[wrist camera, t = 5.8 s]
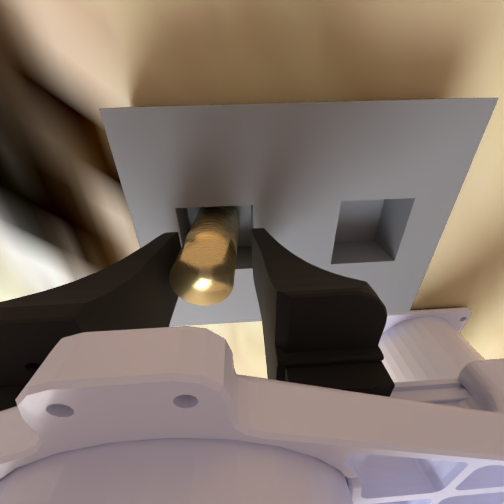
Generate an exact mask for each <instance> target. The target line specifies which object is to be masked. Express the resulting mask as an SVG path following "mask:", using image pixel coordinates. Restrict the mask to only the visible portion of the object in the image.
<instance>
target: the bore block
mask: <svg viewBox="0 0 504 504" xmlns="http://www.w3.org/2000/svg"><path fill="white" fill-rule="evenodd" d="M497 100H498V98H444V99H407V100H370V101H334V102H297V103H260V104H223V105H186V106H149V107H120V108H100V109H99V110H100V113H101V117H102V120H103V124H104V127H105V130H106V134H107V137H108V141H109V144H110V147H111V151H112V154H113V157H114V161H115V164H116V168H117V171H118V174H119V178H120V181H121V185H122V188H123V191H124V195H125V198H126V201H127V205H128V208H129V212H130V215H131V218H132V222H133V225H134V229H135V232H136V235H137V239H138V242H139V245H140V248H142V247H143V246H145V245H146V244H148V243H149V242H151V241H152V240H154V239H155V238H157V237H158V236H160V235H162V234H163V233H166V232H178V233H179V238H180V243H181V247H182V245H183V243H184V241H185V239H186V237H187V235H188V232H189V230H190V228H191V226H192V224H193V222H194V220H195V218H196V215H197V213H198V211H199V209H200V207H216V206H235V208H236V209H237V211H238V213H239V217H240V223H239V234H238V244H237V255H236V265H235V276H234V286H233V290H232V292H231V294H230V295H229V296H228V297H227V298H226V299H225V300H223V301H222V302H220V303H217V304H214V305H208V306H202V305H195V304H192V303H189V302H187V301H185V300H183V299H182V298H180V297H178V300H177V303H176V306H175V309H174V312H173V315H172V318H171V321H170V325H169V326H186V325H202V324H219V323H235V322H252V321H262V318H261V313H260V308H259V303H258V299H257V294H256V289H255V285H254V279H253V267H252V237H251V229H253V228H264V229H265V230H266V231H267V232H268V233H269V234H270V235H271V236H272V237H273V238H274V239H275V240H276V241H277V242H279V243H280V244H281V245H282V246H283V247H285V248H286V249H287V250H289V251H290V252H291V253H293V254H294V255H296V256H297V257H299V258H301V259H303V260H304V261H306V262H308V263H310V264H312V265H314V266H317V267H319V268H321V269H324V270H326V271H329V272H332V273H335V274H338V275H341V276H345V277H349V278H353V279H357V280H362V281H366V282H367V283H368V284H369V285H370V286H371V287H372V289H373V290H374V291H375V292H376V294H377V295H378V297H379V298H380V300H381V301H382V303H383V304H384V305H385V307H386V310H387V313H400V312H410V309H411V307H412V304H413V302H414V300H415V297H416V295H417V292H418V290H419V288H420V285H421V283H422V280H423V278H424V276H425V273H426V271H427V268H428V266H429V264H430V261H431V259H432V256H433V254H434V252H435V249H436V247H437V244H438V242H439V240H440V237H441V235H442V232H443V230H444V228H445V225H446V223H447V220H448V218H449V216H450V213H451V211H452V208H453V206H454V204H455V201H456V199H457V196H458V194H459V192H460V189H461V187H462V184H463V182H464V180H465V177H466V175H467V172H468V170H469V168H470V165H471V163H472V160H473V158H474V156H475V153H476V151H477V148H478V146H479V144H480V141H481V139H482V136H483V134H484V132H485V129H486V127H487V124H488V122H489V120H490V117H491V115H492V112H493V110H494V108H495V105H496V103H497Z"/></svg>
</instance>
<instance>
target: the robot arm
mask: <svg viewBox="0 0 504 504" xmlns="http://www.w3.org/2000/svg"><path fill="white" fill-rule="evenodd" d="M251 237H252V267H253V279H254V285H255V289H256V294H257V299H258V303H259V308H260V313H261V318H262V324H263V334H264V344H265V354H266V364H267V375H268V379H265V378H258V377H251V376H245V375H238V374H236V372H235V369H234V364H233V354H232V351H231V349H230V347H229V345H228V343H227V342H226V340H225V339H224V338H222V337H221V336H219V335H217V334H215V333H213V332H212V331H210V330H208V329H206V328H197V327H189V326H179V327H169V325H170V321H171V318H172V315H173V312H174V309H175V306H176V303H177V300H178V297H179V296H178V295H177V294H176V293H175V292H174V291H173V289H172V287H171V285H170V281H169V274H170V271H171V268H172V266H173V264H174V262H175V260H176V258H177V256H178V254H179V251H180V249H181V243H180V238H179V233H178V232H166V233H163V234H162V235H160V236H158V237H157V238H155V239H154V240H152V241H151V242H149V243H148V244H146V245H145V246H143V247H142V248H140V249H139V250H137V251H136V252H134V253H132V254H131V255H129V256H127V257H126V258H124V259H122V260H121V261H119V262H117V263H115V264H113V265H111V266H109V267H107V268H105V269H103V270H101V271H99V272H96V273H94V274H91V275H89V276H86V277H84V278H81V279H79V280H76V281H74V282H71V283H68V284H65V285H62V286H59V287H56V288H53V289H49V290H46V291H43V292H39V293H35V294H31V295H27V296H24V297H20V298H16V299H12V300H8V301H3V302H0V504H504V359H490V360H485V359H484V358H483V357H482V356H481V355H480V354H479V353H478V352H477V351H476V350H475V349H474V348H473V347H472V346H471V345H470V344H469V343H468V342H467V341H466V340H465V339H464V337H463V336H462V335H461V334H460V332H461V330H462V328H463V327H464V325H465V323H466V322H467V320H468V318H469V317H470V315H471V311H470V310H469V309H468V308H466V307H463V308H446V309H430V310H413V311H410V312H400V313H387V310H386V307H385V305H384V304H383V303H382V301H381V300H380V298H379V297H378V295H377V294H376V292H375V291H374V290H373V289H372V287H371V286H370V285H369V284H368V283H367V282H366V281H362V280H357V279H353V278H349V277H345V276H341V275H338V274H335V273H332V272H329V271H326V270H324V269H321V268H319V267H317V266H314V265H312V264H310V263H308V262H306V261H304V260H303V259H301V258H299V257H297V256H296V255H294V254H293V253H291V252H290V251H289V250H287V249H286V248H285V247H283V246H282V245H281V244H280V243H279V242H277V241H276V240H275V239H274V238H273V237H272V236H271V235H270V234H269V233H268V232H267V231H266V230H265V229H264V228H253V229H251Z"/></svg>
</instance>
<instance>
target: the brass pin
mask: <svg viewBox="0 0 504 504" xmlns="http://www.w3.org/2000/svg"><path fill="white" fill-rule="evenodd" d="M239 223H240V217H239V213H238V211H237V209H236V208H235V206H216V207H200V209H199V211H198V213H197V215H196V218H195V220H194V222H193V224H192V226H191V228H190V230H189V232H188V235H187V237H186V239H185V241H184V243H183V245H182V247H181V249H180V251H179V254H178V256H177V258H176V260H175V262H174V264H173V266H172V268H171V271H170V274H169V281H170V285H171V287H172V289H173V291H174V292H175V293H176V294H177V295H178V296H179V297H180V298H182V299H183V300H185V301H187V302H189V303H192V304H195V305H202V306H208V305H214V304H217V303H220V302H222V301H223V300H225V299H226V298H227V297H228V296H229V295H230V294H231V292H232V290H233V286H234V276H235V265H236V255H237V244H238V234H239Z"/></svg>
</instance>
